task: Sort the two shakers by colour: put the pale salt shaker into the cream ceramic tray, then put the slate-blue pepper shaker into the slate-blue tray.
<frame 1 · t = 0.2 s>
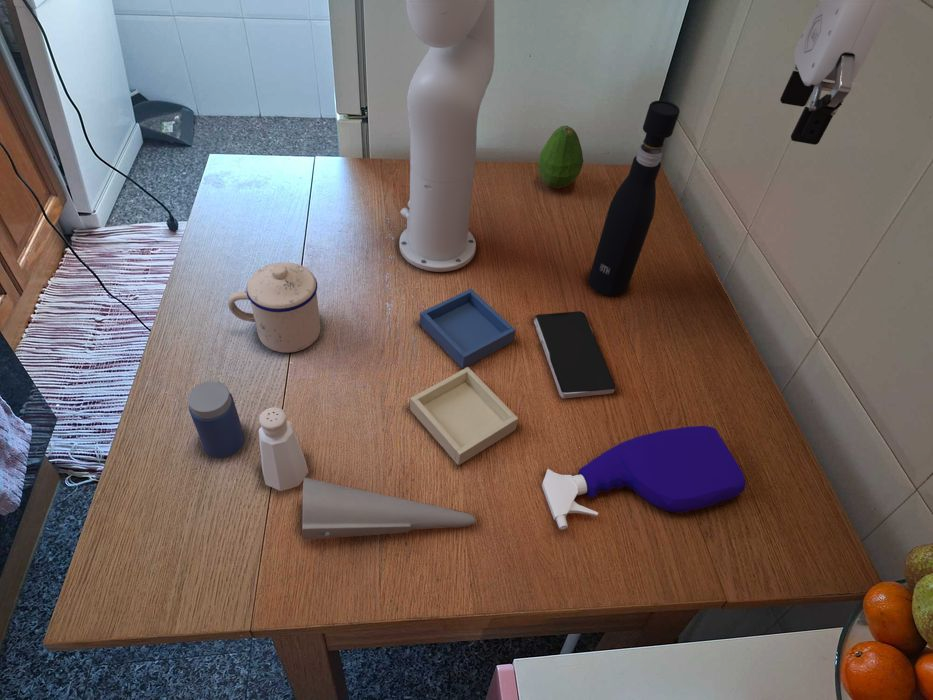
hand: (797, 122, 80), 31 cm above the table, tool pointing down, fingers open, 9 cm apart
pepper shaker: (224, 441, 79), on the table
blue tray: (466, 332, 94), on the table
avocado: (555, 186, 122), on the table
salt shaker: (285, 472, 77), on the table
spray bottle: (637, 483, 80), on the table
grey tapered cone: (389, 513, 74), on the table
black bottle: (607, 284, 104), on the table
cream tray: (462, 419, 84), on the table
teacup with lid: (279, 332, 92), on the table
smartphone: (571, 356, 93), on the table
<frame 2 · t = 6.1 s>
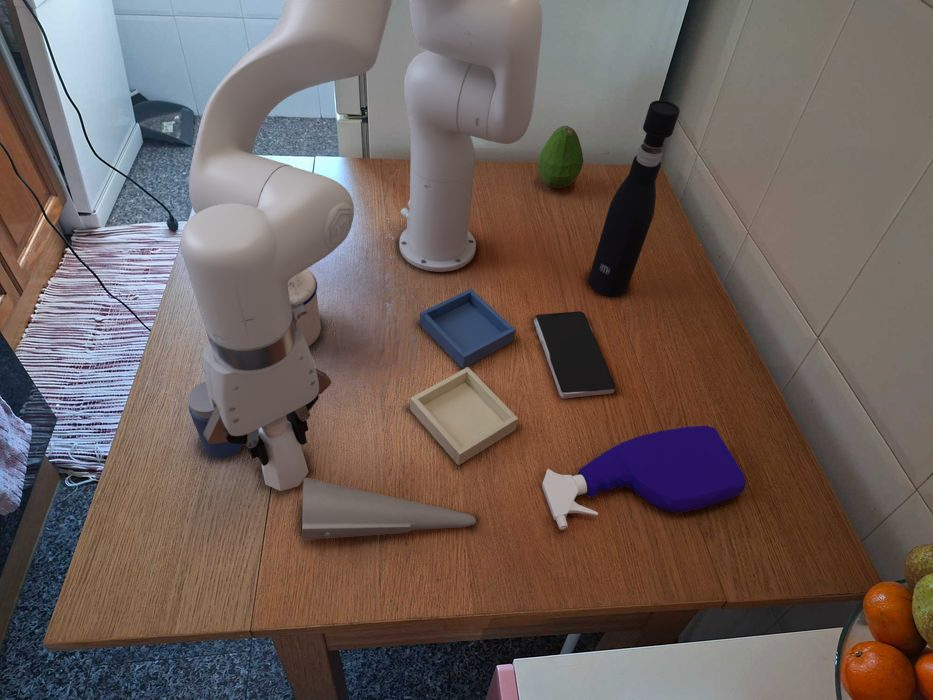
hand: (279, 444, 72), 6 cm above the table, tool pointing down, fingers closed on salt shaker, 4 cm apart
salt shaker: (285, 472, 77), on the table, touching gripper
everything else where it was.
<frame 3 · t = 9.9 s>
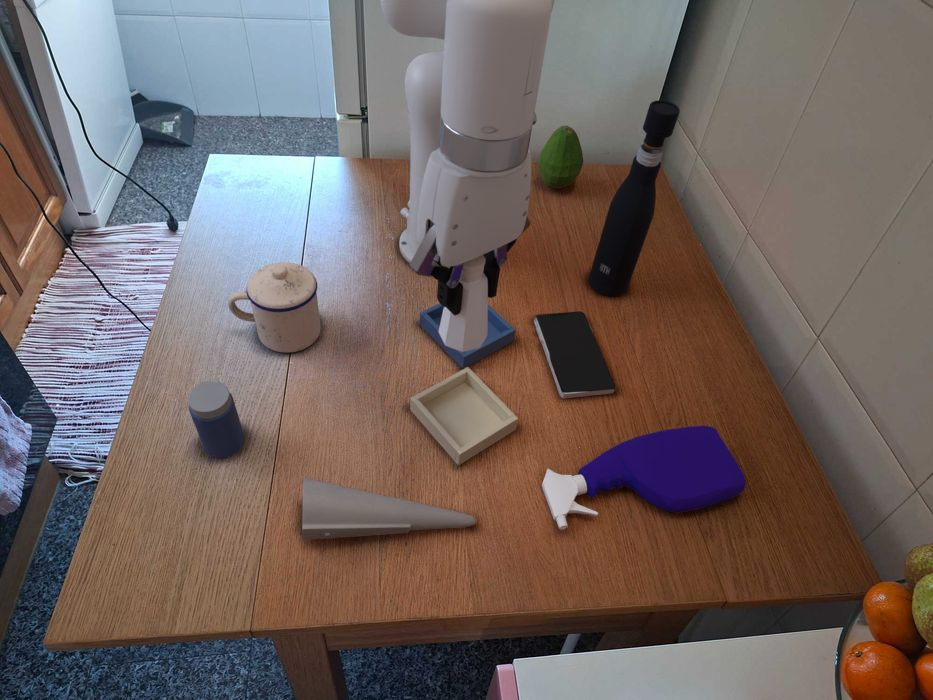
hand: (466, 296, 67), 22 cm above the table, tool pointing down, fingers closed on salt shaker, 4 cm apart
salt shaker: (462, 335, 71), point 16 cm above the table, touching gripper
everything else where it was.
when the fingers open (6 cm above the table, at t = 13.7 s): salt shaker stays where it is, resting on cream tray.
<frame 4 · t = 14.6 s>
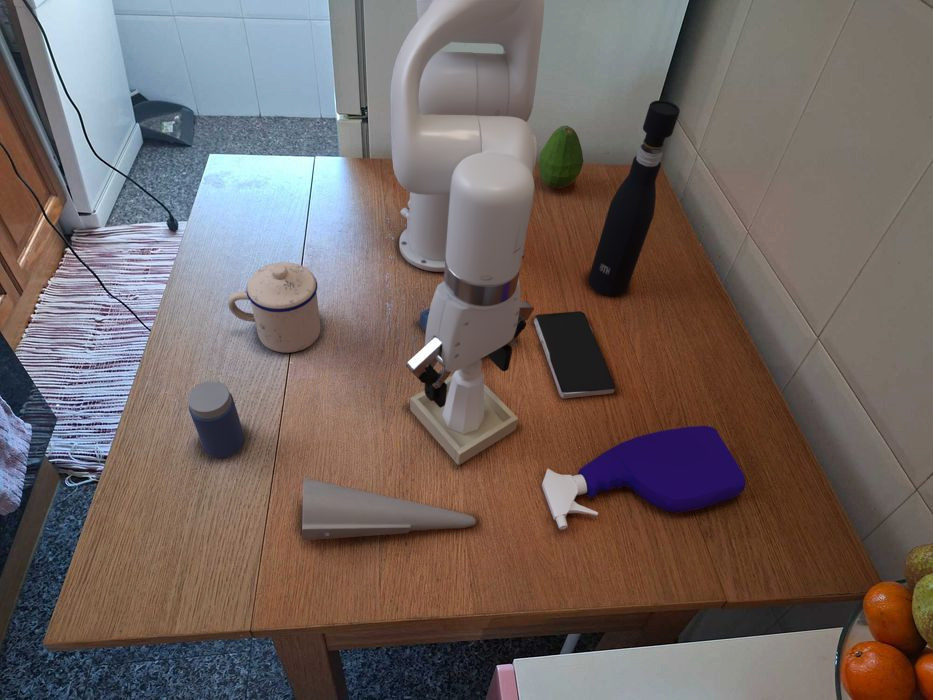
hand: (467, 380, 78), 8 cm above the table, tool pointing down, fingers open, 9 cm apart
salt shaker: (463, 418, 83), resting on cream tray
everything else where it was.
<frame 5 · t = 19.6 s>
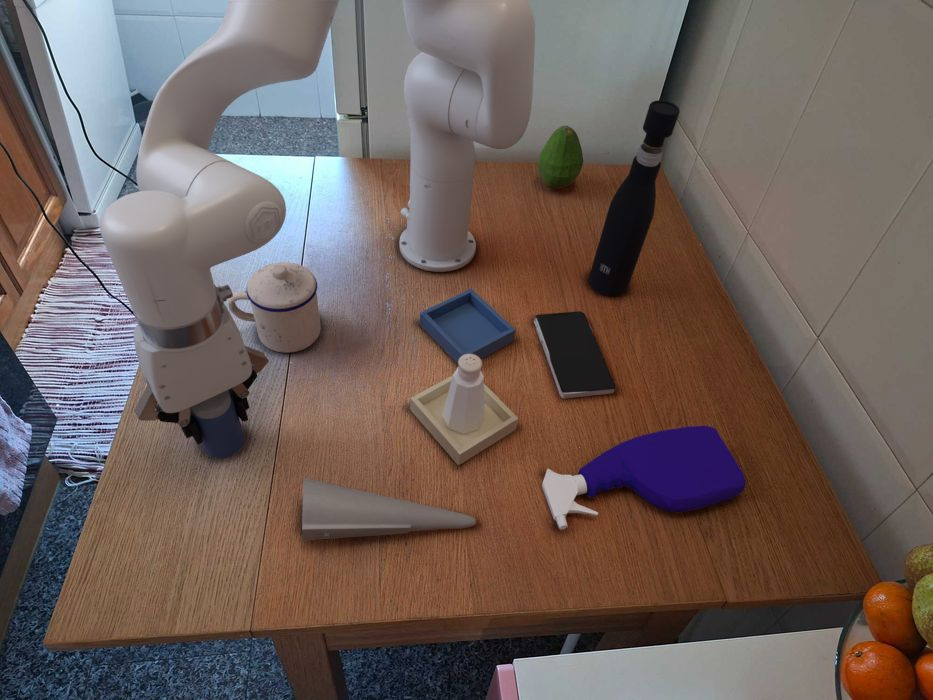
hand: (217, 423, 76), 4 cm above the table, tool pointing down, fingers closed on pepper shaker, 4 cm apart
pepper shaker: (224, 441, 79), on the table, touching gripper
everything else where it was.
when the fingers open (4 cm above the table, at t = 28.2 s): pepper shaker stays where it is, resting on blue tray.
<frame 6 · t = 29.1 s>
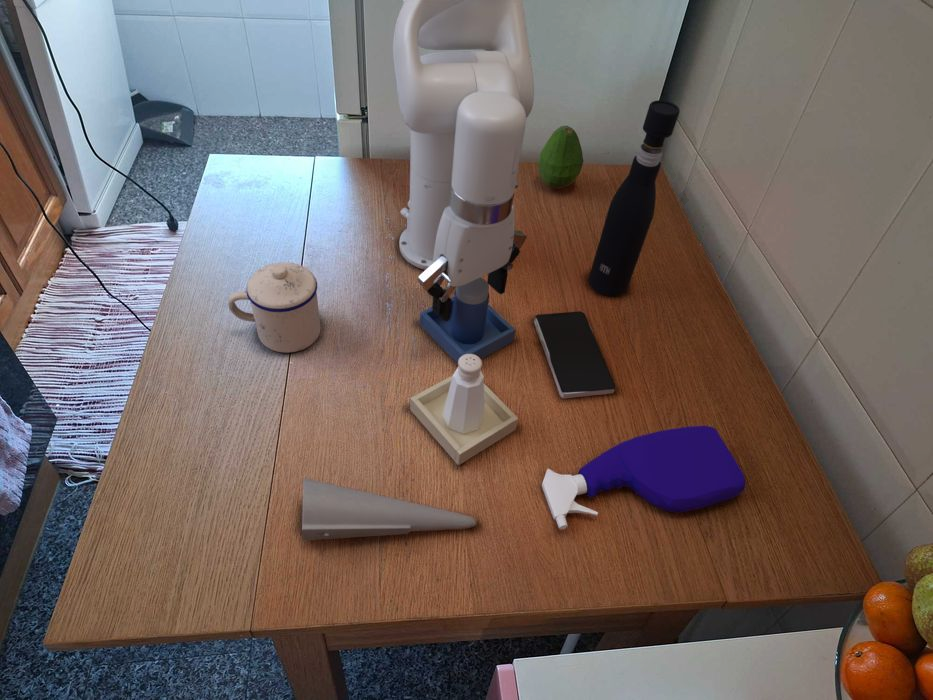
hand: (469, 301, 90), 6 cm above the table, tool pointing down, fingers open, 9 cm apart
pepper shaker: (467, 332, 94), resting on blue tray
everything else where it was.
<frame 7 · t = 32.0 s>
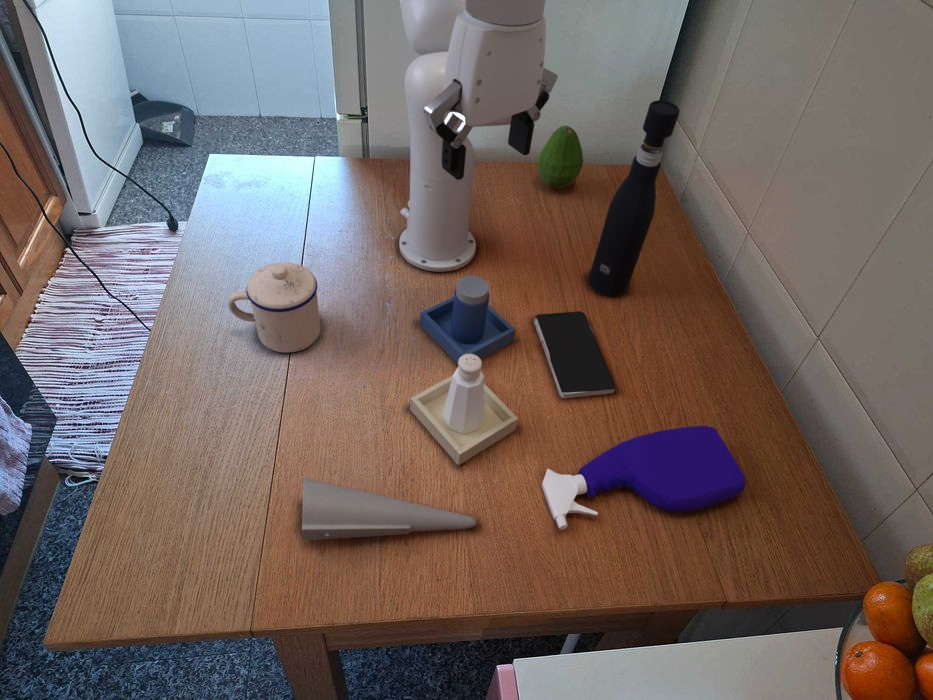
hand: (486, 161, 73), 28 cm above the table, tool pointing down, fingers open, 9 cm apart
nothing on the table moved.
at the end: salt shaker inside the target area in the cream tray (0.0 cm from its centre), point 0.3 cm above the cream tray's base; pepper shaker inside the target area in the blue tray (0.3 cm from its centre), point 0.5 cm above the blue tray's base; pepper shaker tilted 0° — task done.
